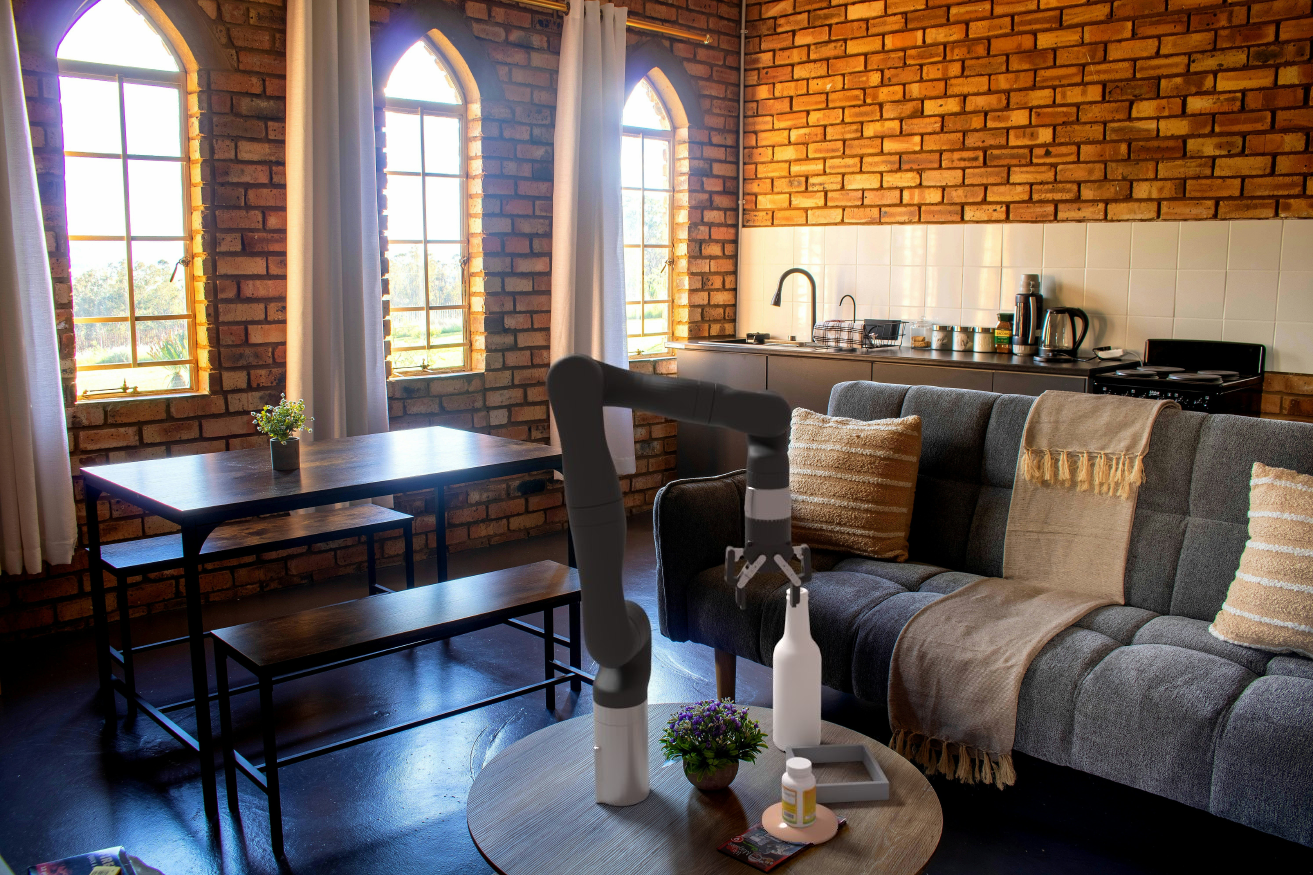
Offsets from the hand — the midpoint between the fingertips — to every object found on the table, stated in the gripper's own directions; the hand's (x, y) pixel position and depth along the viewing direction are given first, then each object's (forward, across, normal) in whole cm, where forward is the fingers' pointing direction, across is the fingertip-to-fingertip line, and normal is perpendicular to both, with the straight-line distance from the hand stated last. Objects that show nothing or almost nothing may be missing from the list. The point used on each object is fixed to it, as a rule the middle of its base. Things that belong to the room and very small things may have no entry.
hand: (767, 607), depth 168 cm
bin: (+32, +12, +1) cm, 34 cm away
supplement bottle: (+32, +3, -12) cm, 34 cm away
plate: (+32, +3, -12) cm, 35 cm away
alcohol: (+32, +8, +15) cm, 37 cm away
